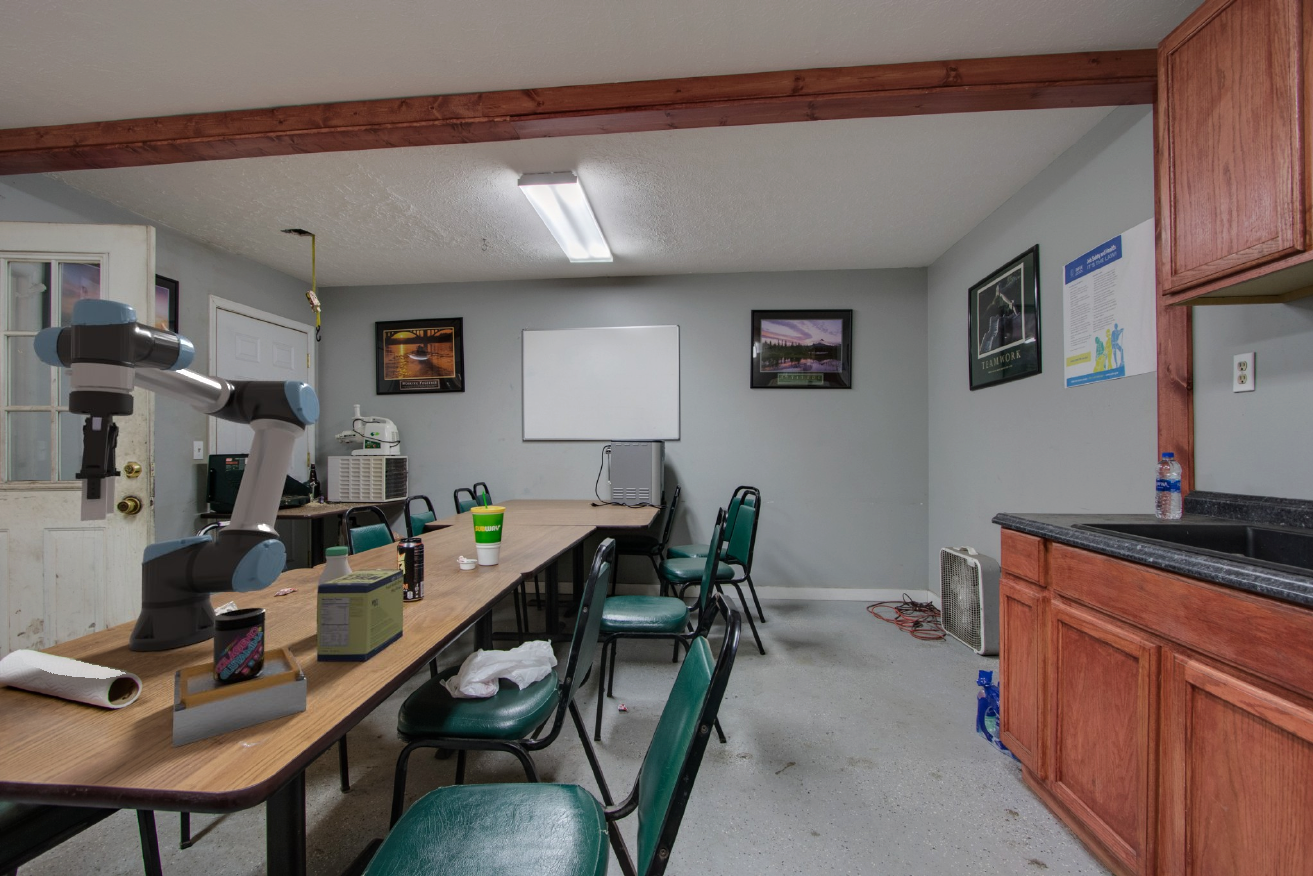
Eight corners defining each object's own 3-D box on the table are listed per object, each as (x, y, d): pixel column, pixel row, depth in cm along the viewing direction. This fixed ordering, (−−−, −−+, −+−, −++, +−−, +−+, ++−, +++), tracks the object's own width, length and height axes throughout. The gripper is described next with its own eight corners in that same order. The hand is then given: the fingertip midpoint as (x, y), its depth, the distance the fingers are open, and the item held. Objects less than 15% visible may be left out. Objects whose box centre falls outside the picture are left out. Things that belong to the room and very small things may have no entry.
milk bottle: (333, 626, 127) (334, 544, 128) (362, 627, 126) (363, 545, 127) (308, 637, 120) (309, 550, 120) (338, 638, 119) (339, 550, 119)
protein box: (403, 635, 120) (404, 568, 121) (366, 662, 105) (367, 584, 105) (359, 636, 120) (359, 568, 121) (315, 662, 105) (316, 585, 105)
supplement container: (201, 687, 82) (203, 621, 82) (229, 670, 89) (230, 609, 89) (249, 684, 83) (250, 618, 84) (273, 667, 90) (273, 606, 90)
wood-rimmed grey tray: (174, 704, 87) (174, 667, 87) (289, 676, 98) (289, 643, 98) (172, 748, 74) (173, 703, 74) (306, 710, 85) (306, 671, 85)
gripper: (80, 396, 95) (76, 512, 94) (56, 381, 76) (51, 525, 76) (138, 399, 100) (134, 509, 99) (128, 385, 82) (124, 520, 81)
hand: (98, 516), depth 87 cm, fingers open, 13 cm apart
